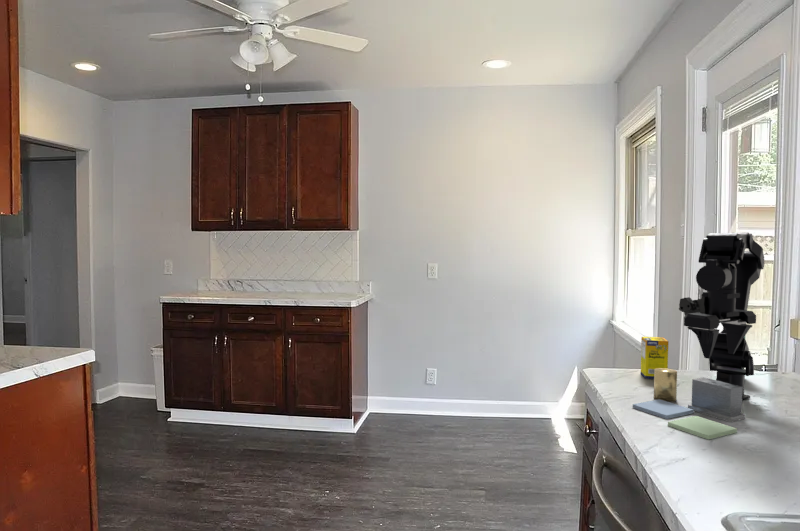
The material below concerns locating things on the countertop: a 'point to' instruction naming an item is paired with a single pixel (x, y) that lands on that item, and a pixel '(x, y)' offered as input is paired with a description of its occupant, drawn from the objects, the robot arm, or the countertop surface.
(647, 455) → the countertop surface
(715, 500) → the countertop surface
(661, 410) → the slate mat
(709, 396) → the grey block with base
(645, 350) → the supplement box
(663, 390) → the gold metal cylinder
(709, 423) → the sage mat
